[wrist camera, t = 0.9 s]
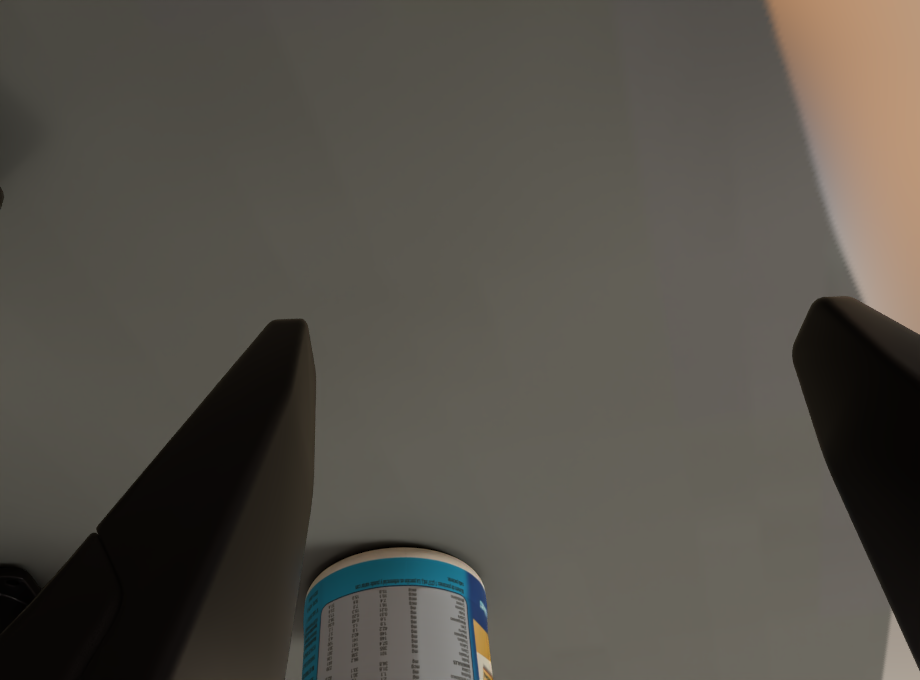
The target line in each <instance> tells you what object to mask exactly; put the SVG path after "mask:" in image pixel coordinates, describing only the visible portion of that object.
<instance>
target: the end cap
mask: <svg viewBox="0 0 920 680" xmlns="http://www.w3.org/2000/svg"><path fill="white" fill-rule="evenodd" d="M3 199H4V194H3V191H2V189H1V187H0V209H1V207H2V203H3Z"/></svg>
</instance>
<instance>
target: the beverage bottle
mask: <svg viewBox="0 0 920 680" xmlns="http://www.w3.org/2000/svg"><path fill="white" fill-rule="evenodd" d="M303 626H304V654H303V669H302V680H493V675H492V667H491V659H490V650H489V641H488V629H487V603H486V595H485V589H484V586H483V583H482V581H481V579H480V577H479V576H478V575H477V573H476V572H475V571H474V570H473V569H472V568H471V567H470V566H468V565H467V564H466V563H464V562H463V561H461V560H459V559H457V558H455V557H453V556H450V555H448V554H445V553H441V552H438V551H433V550H428V549H421V548H408V547H398V548H384V549H377V550H372V551H367V552H363V553H359V554H356V555H353V556H350V557H348V558H345V559H343V560H341V561H339V562H337V563H335V564H333V565H331V566H330V567H328V568H327V569H326V570H324V571H323V572H322V573H321V574H320V575H319V576H318V577H317V578H316V579H315V580H314V581H313V583H312V584H311V586H310V588H309V590H308V592H307V595H306V599H305V606H304V620H303Z"/></svg>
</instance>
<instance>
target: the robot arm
mask: <svg viewBox="0 0 920 680" xmlns="http://www.w3.org/2000/svg"><path fill="white" fill-rule="evenodd" d="M792 357H793V363H794V367H795V370H796V373H797V376H798V379H799V382H800V385H801V388H802V392H803V395H804V398H805V401H806V404H807V407H808V410H809V413H810V416H811V420H812V423H813V426H814V429H815V432H816V435H817V438H818V441H819V444H820V447H821V450H822V453H823V456H824V458H825V461H826V464H827V466H828V469H829V471H830V473H831V476H832V478H833V480H834V483H835V485H836V487H837V489H838V491H839V494H840V496H841V498H842V500H843V503H844V505H845V507H846V509H847V511H848V514H849V516H850V518H851V520H852V522H853V525H854V527H855V529H856V531H857V533H858V536H859V538H860V540H861V542H862V544H863V547H864V549H865V551H866V553H867V556H868V558H869V560H870V562H871V564H872V567H873V569H874V571H875V573H876V575H877V578H878V580H879V582H880V584H881V586H882V589H883V591H884V593H885V595H886V598H887V600H888V602H889V604H890V606H891V609H892V611H893V613H894V615H895V617H896V619H897V622H898V624H899V626H900V628H901V631H902V633H903V635H904V637H905V639H906V642H907V644H908V646H909V648H910V650H911V653H912V655H913V657H914V659H915V661H916V664H917V666H918V668H919V670H920V335H919V334H917V333H915V332H913V331H912V330H910V329H908V328H906V327H905V326H903V325H901V324H899V323H898V322H896V321H894V320H892V319H890V318H889V317H887V316H885V315H883V314H882V313H880V312H878V311H876V310H874V309H873V308H871V307H869V306H867V305H865V304H864V303H862V302H860V301H858V300H857V299H854V298H852V297H847V296H841V297H822V298H819V299H817V300H816V301H815V302H814V303H813V304H812V305H811V307H810V309H809V311H808V313H807V316H806V318H805V320H804V322H803V324H802V327H801V329H800V331H799V333H798V335H797V338H796V340H795V342H794V345H793V350H792ZM315 408H316V372H315V365H314V359H313V353H312V347H311V341H310V335H309V329H308V325H307V323H306V321H305V320H303V319H279V320H273V321H271V322H270V323H269V324H268V325H267V326H266V327H265V328H264V329H263V331H262V332H261V333H260V334H259V335H258V337H257V338H256V339H255V340H254V341H253V342H252V344H251V345H250V346H249V347H248V348H247V350H246V351H245V352H244V353H243V354H242V356H241V357H240V358H239V359H238V360H237V361H236V363H235V364H234V365H233V366H232V367H231V369H230V370H229V371H228V372H227V373H226V374H225V376H224V377H223V378H222V379H221V380H220V382H219V383H218V384H217V385H216V386H215V387H214V389H213V390H212V391H211V392H210V393H209V395H208V396H207V397H206V398H205V399H204V401H203V402H202V403H201V404H200V405H199V406H198V408H197V409H196V410H195V411H194V412H193V414H192V415H191V416H190V417H189V418H188V419H187V421H186V422H185V423H184V424H183V425H182V427H181V428H180V429H179V430H178V431H177V432H176V434H175V435H174V436H173V437H172V438H171V440H170V441H169V442H168V443H167V444H166V446H165V447H164V448H163V449H162V450H161V451H160V453H159V454H158V455H157V456H156V457H155V459H154V460H153V461H152V462H151V463H150V464H149V466H148V467H147V468H146V469H145V470H144V472H143V473H142V474H141V475H140V476H139V477H138V479H137V480H136V481H135V482H134V483H133V485H132V486H131V487H130V488H129V489H128V491H127V492H126V493H125V494H124V495H123V496H122V498H121V499H120V500H119V501H118V502H117V504H116V505H115V506H114V507H113V508H112V509H111V511H110V512H109V513H108V514H107V515H106V517H105V518H104V519H103V520H102V521H101V523H100V524H99V525H98V526H97V528H96V530H97V533H98V534H97V533H91V534H90V535H89V536H88V537H87V539H86V540H85V541H84V542H83V543H82V545H81V546H80V547H79V548H78V549H77V550H76V552H75V553H74V554H73V555H72V556H71V558H70V559H69V560H68V561H67V562H66V563H65V565H64V566H63V567H62V568H61V569H60V570H59V571H58V572H57V574H56V575H55V576H54V577H53V578H52V579H51V580H50V581H49V583H48V584H47V585H46V586H45V587H44V588H43V589H42V590H41V589H40V587H39V586H38V584H37V583H36V582H35V580H34V579H33V578H32V576H31V575H30V574H29V573H28V572H27V571H25V570H23V569H20V568H0V680H285V675H286V668H287V662H288V655H289V649H290V642H291V636H292V629H293V623H294V616H295V610H296V603H297V597H298V590H299V584H300V577H301V571H302V564H303V558H304V551H305V545H306V538H307V532H308V525H309V519H310V512H311V504H312V496H313V483H314V452H315Z"/></svg>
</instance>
